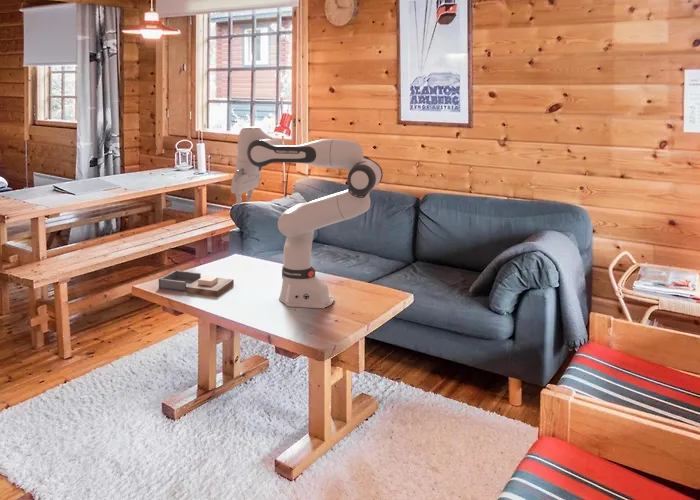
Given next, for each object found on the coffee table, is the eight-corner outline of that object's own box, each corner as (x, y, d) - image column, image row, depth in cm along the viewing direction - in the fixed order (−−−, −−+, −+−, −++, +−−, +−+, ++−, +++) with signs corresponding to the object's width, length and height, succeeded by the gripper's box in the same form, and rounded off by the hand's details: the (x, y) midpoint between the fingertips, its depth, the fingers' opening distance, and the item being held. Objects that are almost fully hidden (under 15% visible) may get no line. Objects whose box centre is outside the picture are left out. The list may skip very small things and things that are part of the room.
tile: (217, 281, 271) (217, 277, 270) (211, 285, 265) (211, 281, 265) (204, 280, 272) (204, 275, 272) (198, 284, 267) (198, 279, 266)
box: (200, 281, 278) (200, 273, 277) (184, 291, 265) (184, 282, 263) (175, 278, 280) (175, 270, 279) (158, 288, 267) (158, 279, 266)
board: (233, 285, 275) (233, 279, 274) (217, 296, 260) (217, 290, 259) (203, 281, 278) (203, 275, 278) (185, 292, 263) (185, 286, 263)
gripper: (243, 172, 242) (240, 207, 246) (263, 165, 262) (260, 198, 266) (228, 169, 244) (225, 204, 248) (249, 163, 263) (246, 195, 267)
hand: (243, 201), depth 257 cm, fingers open, 8 cm apart
